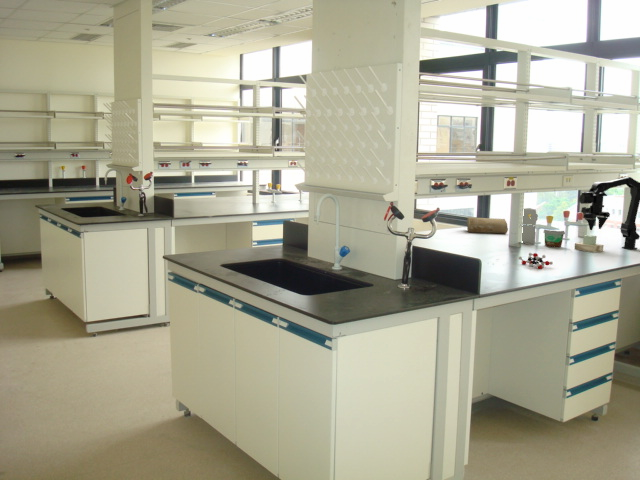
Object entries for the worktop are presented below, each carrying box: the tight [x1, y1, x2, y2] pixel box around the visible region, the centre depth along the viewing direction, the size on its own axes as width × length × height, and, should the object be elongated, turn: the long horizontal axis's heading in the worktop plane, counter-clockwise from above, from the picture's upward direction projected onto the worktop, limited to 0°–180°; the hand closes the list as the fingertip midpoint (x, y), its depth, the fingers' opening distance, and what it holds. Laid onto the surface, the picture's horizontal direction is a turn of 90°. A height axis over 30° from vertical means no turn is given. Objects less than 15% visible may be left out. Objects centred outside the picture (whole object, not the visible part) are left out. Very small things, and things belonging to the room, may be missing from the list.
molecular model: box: [518, 252, 553, 270], centre depth 307 cm, size 10×12×15 cm
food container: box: [543, 229, 566, 248], centre depth 367 cm, size 12×6×10 cm, turn 62°
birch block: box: [574, 241, 604, 253], centre depth 360 cm, size 10×12×4 cm
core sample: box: [466, 216, 509, 234], centre depth 420 cm, size 14×26×10 cm, turn 86°
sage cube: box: [582, 234, 598, 245], centre depth 359 cm, size 5×5×5 cm
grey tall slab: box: [522, 207, 539, 245], centre depth 376 cm, size 11×4×22 cm, turn 61°
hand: (595, 229), depth 364 cm, fingers open, 9 cm apart
